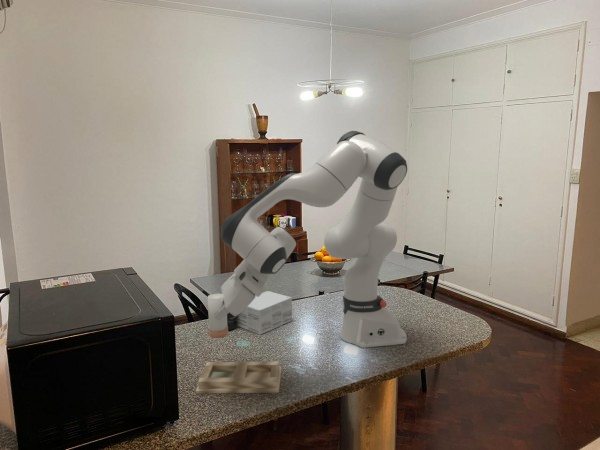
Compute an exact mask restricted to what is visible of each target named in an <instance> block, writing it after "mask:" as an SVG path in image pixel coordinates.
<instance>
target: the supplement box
mask: <svg viewBox="0 0 600 450" xmlns="http://www.w3.org/2000/svg"><path fill="white" fill-rule="evenodd" d="M292 303H293V299H292V297H291V296H288V295H284V294H280V293H277V292H273V291H270V290H266V291H263V292H262V294H261V295H260V296H259V297H257V296H256V295H255V298H254V300H253V301H252V302H251V303H250V304H249V305H248V306H247V307H246V308H245V309H244V310H243V311H242V312H241V313H240V314H239V315H237V328H238V327H240V328H241V329H243V330H246V331H250V332H253V333H254V334H257V335H263V334H266V333H267V332H269V331H271V330H274V329H276V328H278V327H281V326H283V325H284V324H287V323H290V322H291V321H293V304H292Z"/></svg>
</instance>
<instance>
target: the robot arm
mask: <svg viewBox="0 0 600 450" xmlns="http://www.w3.org/2000/svg"><path fill="white" fill-rule="evenodd" d="M407 173H408V163H407V160H406V159H405V158H404V157H403V156H402V155H401V154H400V153H399V152H396V151H394V150H393V149H392V148H390V147H389V146H388V145H386V144H384V143H383V142H381V141H378V140H376V139H374V138H373V137H371V136H369V135H366V134H364V132H361V131H358V130H351V131H348V132H345V133H344V134H342V135H341V136H340V138H339V140H338V141H337V142H336V145H334V146H333V147H331V148H330V149H329V150H328V151H327V152H325V153H324V154H323V155H322V156H321V157H320V158H319V159H318V160H317V161H316V162H315V163H314V164H313V166H311V167H310V168H308V169H307V170H305V171H302V172H299V173H296V172H291V173H288V174H286V175H284V176H283V177H281V178H279V179H278V180H277V181H276V182H274V183H273V184H272V185H270V186H269V187H268V188H267V189H265V190H264V191H262V192H261V193H260V194H259V195H257V196H256V197H254V198H253V199H252V200H251V201H250V202H248V203H247V204H246V205H244V206H243V207H241V208H240V209H238V210H236V211H235V212H233V213H232V214H231V215H229V216H228V217H227V218H225V220H224V221H223V222H222V223H221V226H220V236H221V237H220V238H221V242H222V243H224V244H225V245H226V246H228V248H230V249H231V250H233V251H234V252H235V253H236V254H238V255H239V257H241V258H242V261H241V262H240V263H239V264H238V266H237V267H235V269H234V270H233V273H232V275H231V276H229V277H228V278H227V280H225V281H224V282H223V284H221V287H220V291H221V294H224V306H223V307H222V308H221V309H220V310H219V311H217V312H216V313H215V318H216V319H217V320H221V318H222V317H223V316H225V315H226V314H228V313H229V312H230V313H231V314H232V315H233V316H237V315H239V314H240V313H241V312H242V311H243V310H244V309H245V308H246V307H247V306H248V305H249V304H250V303H251V302H252V301H253V300H254V298H255V295H256V296H257V297H259V296H260V295H261V294H262V293H263V292H264V287H265V285H266V283H268V282H269V280H270V278H271V277H272V275H275V274H277V273H278V272H279V271H280V270H281V269H282V268H283V267H284V266H285V264H286V263H287V262H288V258H289V257H290V255H291V254H292V253H293V251H294V250H295V248H296V247H297V242H296V239H295V238H294V237H293V236H292V234H291V233H290V232H289V231H287V230H286V229H285V228H283V227H281V226H277V227H275V228H274V229H273V230H271V232H269V230H268V229H267V228H265V227H264V225H262V224H261V223H260V222H259V221H258V219H259V218H260V217H261V216H262V215H264V214H265V213H266V212H268V211H269V210H270V209H272V208H273V207H274V206H275V205H276V204H278V203H279V202H281V201H283V200H292V201H296V202H300V203H302V204H304V205H307V206H311V207H315V208H327V207H331V206H333V205H335V204H336V203H337V202H338V201H339V200H340V199H342V197H343V196H344V195H345V194H346V193H347V192H348V191H349V190H350V188H351V187H352V186H353V184H354V183H355V182H357V179H358V178H362V179H361V181H360V184H359V187H358V191H357V194H356V197H355V200H354V203H353V205H352V206H351V208H350V210H349V211H348V213H347V214H346V215H345V216H344V217H343V219H342V220H340V222H339V223H338V224H336V225H334V227H331V228H330V229H328V230H327V232H326V233H325V236H324V241H323V243H324V249H325V251H326V252H327V254H328V255H329V256H330V257H331V258H332V259H333V258H334V259H341V260H349V259H356V258H357V259H356V261H355V263H354V264H353V265H352V266H350V267H349V268H348V269H347V270H346V272H345V274H344V279H343V280H344V282H343V283H344V291H343V293H344V294H343V296H342V312H343V317H342V325H341V329H340V332H339V337H340V339H341V340H343V341H344V342H347V343H349V344H352V345H353V344H354V345H356V346H358V347H360V348H363V349H364V348H375V347H376V348H377V347H384V346H394V345H395V346H396V345H404V344H406V342H407V339H408V338H407V333H406V332H405V330H404V329H403V328H402V327H400V323H399V320H398V318H397V317H396V315H395V314H394V313H393V312H391V311H389V310H388V309H386V307H387V302H386V301H385V300H384V298H383V297H381V296H380V295H378V284H379V275H380V271H381V268H382V265H383V263H384V262H385V259H386V258H387V257H388V255H389V254H390V253H391V252H392V251H393V250H394V249H395V248H396V245H397V242H398V236H397V232H396V230H395V228H394V227H393V226H392V225H391V224H389V223H383V222H384V221H385V220H386V219H387V217H388V216H389V214H390V211H391V208H392V205H393V202H394V200H395V196H396V194H397V192H398V191H397V190H398V187H399V186H400V185H401V184H402V182H403V181H404V180H405V178H406V175H407Z"/></svg>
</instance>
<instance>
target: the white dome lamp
mask: <svg viewBox="0 0 600 450" xmlns="http://www.w3.org/2000/svg"><path fill="white" fill-rule="evenodd" d="M223 306H224V294H222V293H212V294H209V295H208V296H207V312H208V334H209V335H208V337H210V338H211V339H221V338H225V337H227V336H228V335H229V330H228V326H227V314H226V315H225V316H223V317H222V318H221V320H217V319H216V318H215V313H216V312H217V311H219V310H220V309H221V308H222V307H223Z"/></svg>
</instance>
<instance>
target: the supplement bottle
mask: <svg viewBox="0 0 600 450" xmlns="http://www.w3.org/2000/svg"><path fill="white" fill-rule="evenodd" d="M227 326H228V331H232V330H235V329H237V328H238V326H237V316H233V315H232V314H231V313H230V312H229V313H228V314H227Z"/></svg>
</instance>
